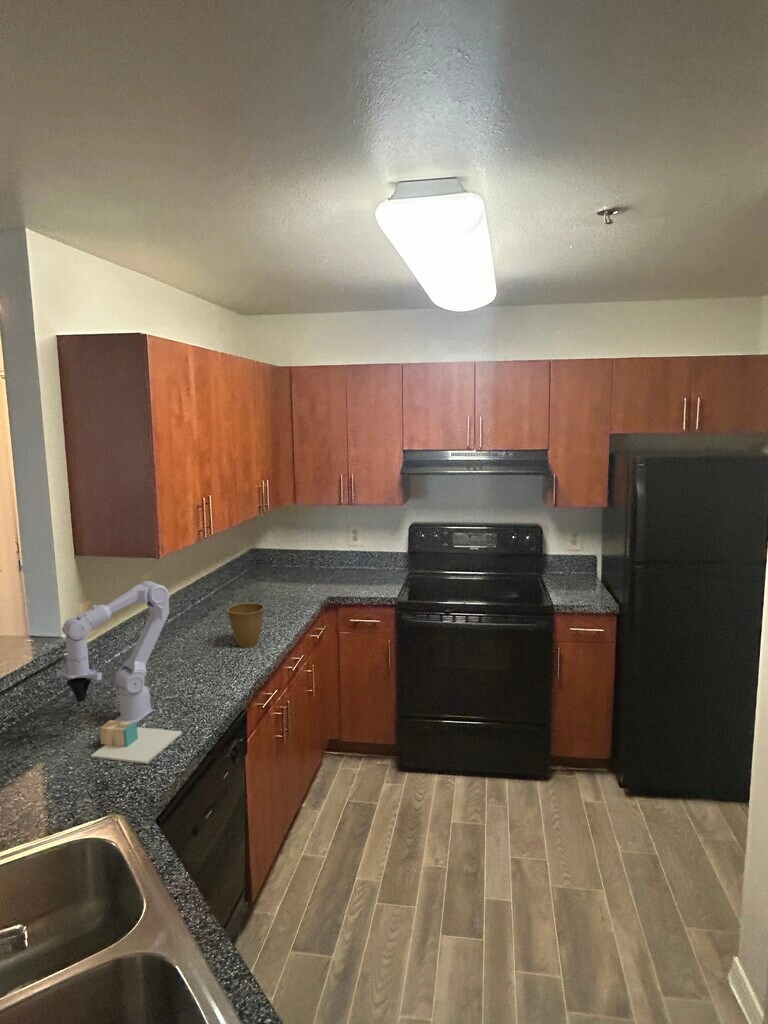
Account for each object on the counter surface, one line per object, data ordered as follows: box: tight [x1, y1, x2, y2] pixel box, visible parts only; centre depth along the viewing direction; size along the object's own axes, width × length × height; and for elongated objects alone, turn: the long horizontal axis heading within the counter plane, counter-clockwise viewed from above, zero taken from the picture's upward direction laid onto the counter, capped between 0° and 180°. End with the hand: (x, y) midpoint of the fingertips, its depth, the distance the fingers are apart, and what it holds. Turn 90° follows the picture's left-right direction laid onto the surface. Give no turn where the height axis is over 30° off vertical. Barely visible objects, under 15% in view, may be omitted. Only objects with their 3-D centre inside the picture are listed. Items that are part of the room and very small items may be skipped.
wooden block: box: [98, 719, 138, 747], centre depth 194 cm, size 5×5×9 cm
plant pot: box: [227, 602, 265, 648], centre depth 275 cm, size 15×15×16 cm
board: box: [90, 726, 183, 765], centre depth 192 cm, size 18×18×1 cm
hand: (81, 700), depth 200 cm, fingers closed
